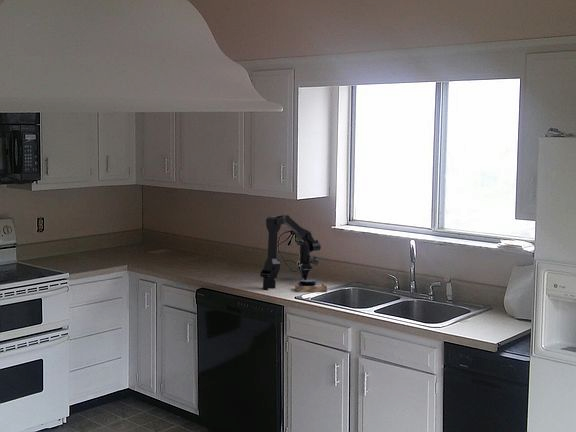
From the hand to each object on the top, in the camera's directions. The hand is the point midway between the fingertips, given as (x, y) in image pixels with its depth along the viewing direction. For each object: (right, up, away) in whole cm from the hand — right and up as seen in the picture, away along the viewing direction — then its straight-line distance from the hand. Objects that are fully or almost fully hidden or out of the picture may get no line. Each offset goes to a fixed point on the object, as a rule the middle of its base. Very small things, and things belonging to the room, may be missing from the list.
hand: (304, 279), depth 432 cm
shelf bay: (+3, -4, -26) cm, 26 cm away
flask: (+2, -4, -14) cm, 14 cm away
